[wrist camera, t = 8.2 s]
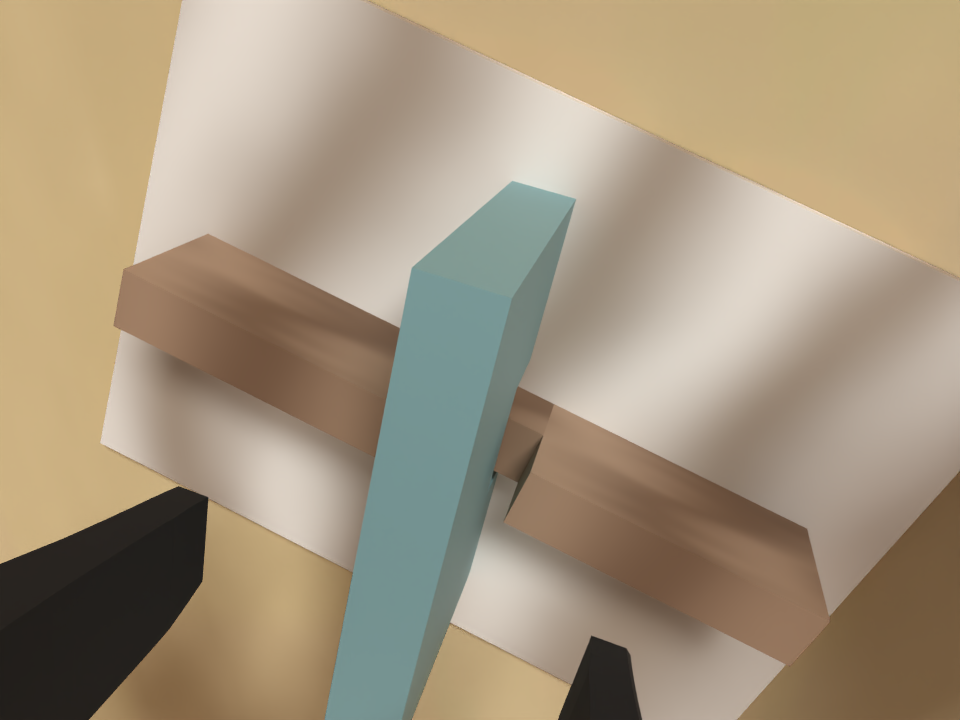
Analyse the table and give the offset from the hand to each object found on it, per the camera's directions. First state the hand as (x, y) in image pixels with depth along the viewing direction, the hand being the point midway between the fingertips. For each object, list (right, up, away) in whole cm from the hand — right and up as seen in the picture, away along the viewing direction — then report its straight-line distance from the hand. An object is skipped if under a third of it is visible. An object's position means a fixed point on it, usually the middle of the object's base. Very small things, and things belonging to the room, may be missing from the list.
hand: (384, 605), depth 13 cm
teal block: (+2, +3, +7) cm, 8 cm away
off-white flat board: (+2, +3, +8) cm, 9 cm away
